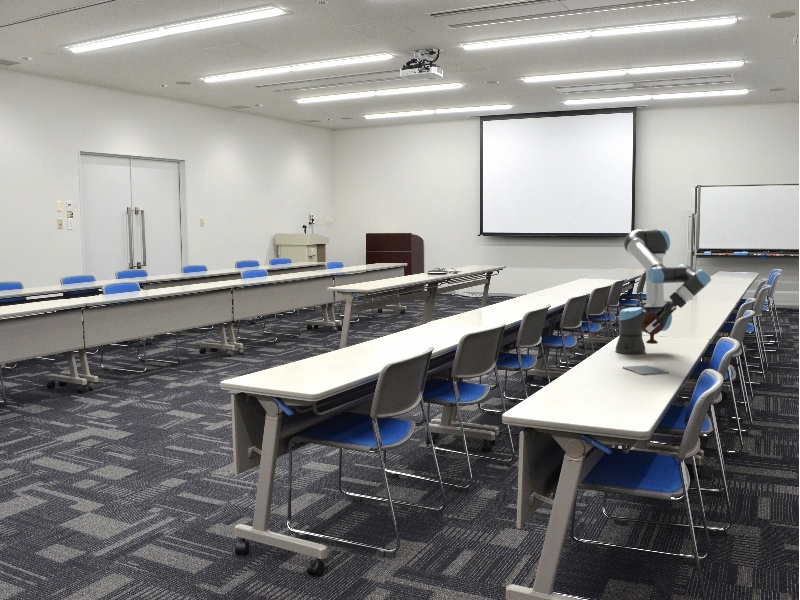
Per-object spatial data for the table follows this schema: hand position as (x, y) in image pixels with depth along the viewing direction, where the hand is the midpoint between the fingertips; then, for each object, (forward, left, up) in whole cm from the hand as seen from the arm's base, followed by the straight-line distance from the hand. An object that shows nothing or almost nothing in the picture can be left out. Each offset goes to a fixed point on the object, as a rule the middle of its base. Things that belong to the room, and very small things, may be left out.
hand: (645, 329), depth 342 cm
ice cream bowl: (+1, +3, -7) cm, 7 cm away
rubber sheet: (+14, -9, -17) cm, 24 cm away
